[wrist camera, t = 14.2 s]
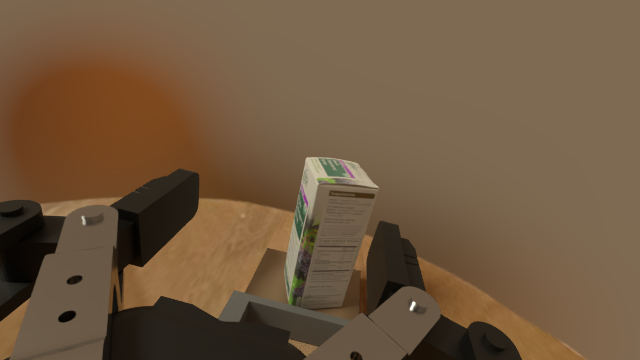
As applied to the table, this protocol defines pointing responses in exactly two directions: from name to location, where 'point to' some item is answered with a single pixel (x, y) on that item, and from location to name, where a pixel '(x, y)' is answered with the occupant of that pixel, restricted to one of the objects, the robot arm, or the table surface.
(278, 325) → the gray open storage bin
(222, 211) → the table surface
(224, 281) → the table surface
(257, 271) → the walnut pad
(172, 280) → the table surface
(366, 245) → the table surface
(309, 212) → the syrup box
